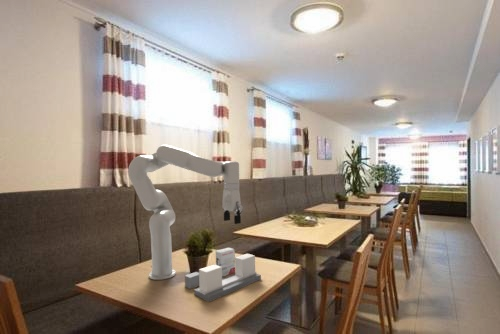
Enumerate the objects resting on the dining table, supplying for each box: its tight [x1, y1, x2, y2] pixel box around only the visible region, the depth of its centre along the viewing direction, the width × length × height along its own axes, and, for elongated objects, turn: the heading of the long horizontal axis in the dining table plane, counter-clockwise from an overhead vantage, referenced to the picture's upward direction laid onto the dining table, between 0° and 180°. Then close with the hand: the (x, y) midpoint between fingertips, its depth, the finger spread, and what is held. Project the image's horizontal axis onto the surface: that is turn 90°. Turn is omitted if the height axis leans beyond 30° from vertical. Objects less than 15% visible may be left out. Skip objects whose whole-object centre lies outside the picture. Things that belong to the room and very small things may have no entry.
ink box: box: [215, 247, 236, 278], centre depth 147 cm, size 9×5×12 cm, turn 129°
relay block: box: [184, 271, 199, 290], centre depth 133 cm, size 4×6×5 cm, turn 135°
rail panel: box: [193, 253, 262, 303], centre depth 131 cm, size 10×30×11 cm, turn 135°
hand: (232, 221), depth 145 cm, fingers open, 9 cm apart
